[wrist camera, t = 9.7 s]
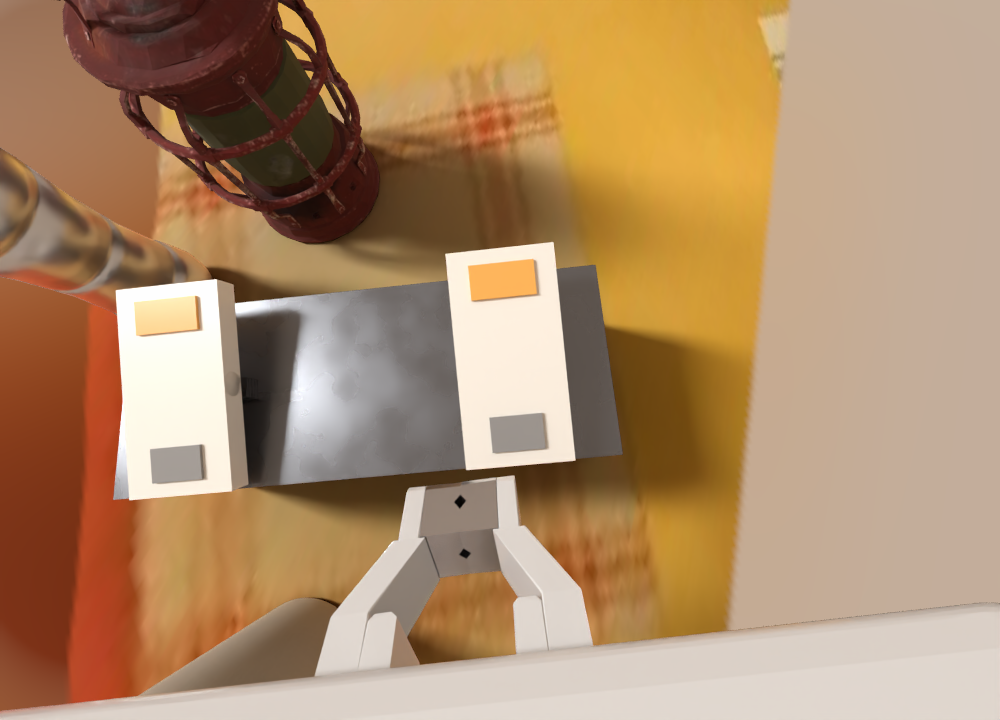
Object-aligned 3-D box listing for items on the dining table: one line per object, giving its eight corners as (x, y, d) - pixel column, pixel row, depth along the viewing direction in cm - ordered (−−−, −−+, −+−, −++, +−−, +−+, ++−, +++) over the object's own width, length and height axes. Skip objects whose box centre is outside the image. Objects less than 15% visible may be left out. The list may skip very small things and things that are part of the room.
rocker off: (248, 484, 21) (230, 492, 20) (151, 492, 21) (126, 501, 20) (233, 284, 21) (214, 278, 20) (138, 295, 22) (112, 289, 20)
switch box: (591, 452, 30) (627, 455, 20) (241, 483, 32) (94, 502, 21) (574, 316, 33) (597, 251, 22) (246, 349, 34) (115, 303, 23)
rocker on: (572, 455, 20) (576, 461, 19) (469, 464, 21) (465, 470, 19) (551, 249, 21) (553, 241, 19) (449, 260, 21) (444, 252, 19)
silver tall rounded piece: (220, 252, 36) (-152, 13, 16) (234, 325, 34) (-156, 162, 15) (146, 275, 36) (-315, 65, 16) (157, 350, 34) (-336, 219, 15)
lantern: (335, 101, 38) (-307, -1064, 9) (419, 190, 36) (-71, -996, 6) (224, 185, 37) (-934, -827, 8) (304, 282, 35) (-928, -638, 5)
